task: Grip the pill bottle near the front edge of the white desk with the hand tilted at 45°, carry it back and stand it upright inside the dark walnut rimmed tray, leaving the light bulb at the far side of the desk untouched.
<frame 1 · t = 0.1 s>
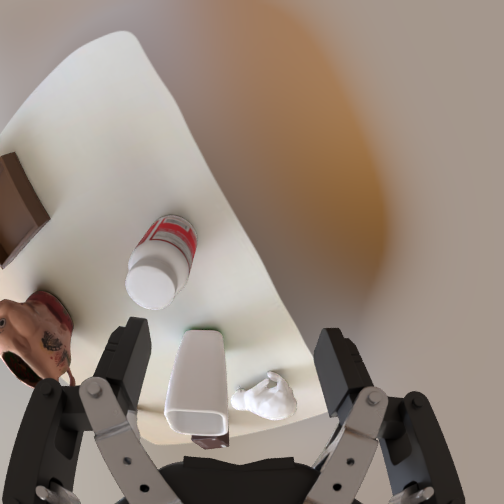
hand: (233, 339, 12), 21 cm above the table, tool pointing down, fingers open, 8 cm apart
tray: (10, 210, 28), on the table
cup: (204, 339, 40), on the table
box: (211, 415, 51), on the table
lightbulb: (133, 405, 49), on the table
white lumpy curved piece: (259, 382, 46), on the table
pink face mug: (58, 318, 37), on the table
pill bottle: (173, 237, 32), on the table
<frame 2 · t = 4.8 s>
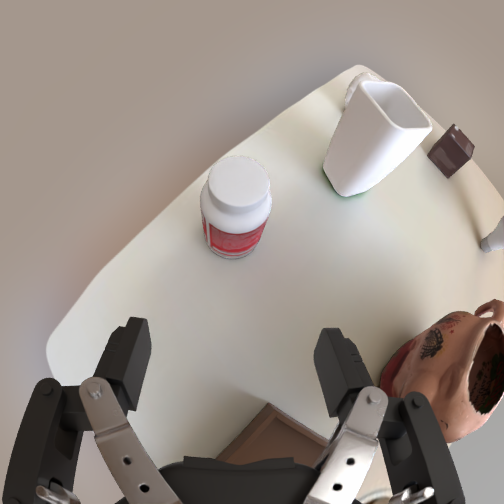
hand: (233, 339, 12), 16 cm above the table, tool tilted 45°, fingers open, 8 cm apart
tray: (282, 471, 22), on the table
cup: (344, 179, 35), on the table
box: (440, 161, 40), on the table
lightbulb: (481, 247, 35), on the table
white lumpy curved piece: (368, 124, 40), on the table
pink face mug: (413, 366, 28), on the table
pill bottle: (231, 234, 30), on the table
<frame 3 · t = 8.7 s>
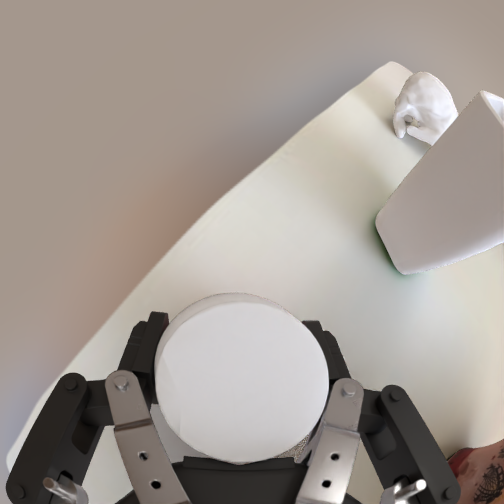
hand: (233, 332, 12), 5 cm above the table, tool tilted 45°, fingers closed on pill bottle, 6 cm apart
cup: (402, 240, 21), on the table
white lumpy curved piece: (421, 145, 26), on the table
pink face mug: (453, 472, 14), on the table
pill bottle: (229, 359, 17), on the table, touching gripper
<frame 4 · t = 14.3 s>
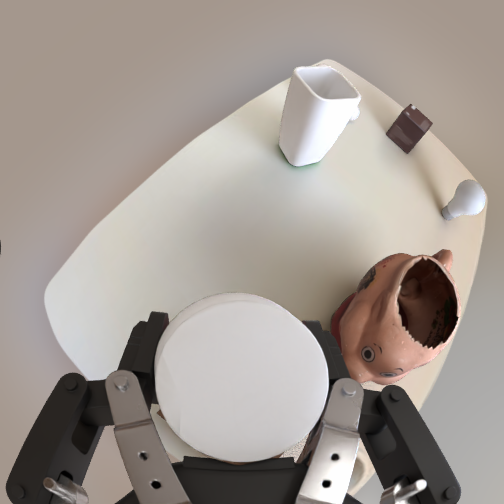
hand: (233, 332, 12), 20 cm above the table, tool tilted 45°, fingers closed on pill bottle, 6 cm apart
cup: (298, 153, 41), on the table
box: (400, 139, 46), on the table
lightbulb: (443, 216, 41), on the table
pink face mug: (367, 317, 34), on the table
pill bottle: (229, 358, 17), point 15 cm above the table, touching gripper
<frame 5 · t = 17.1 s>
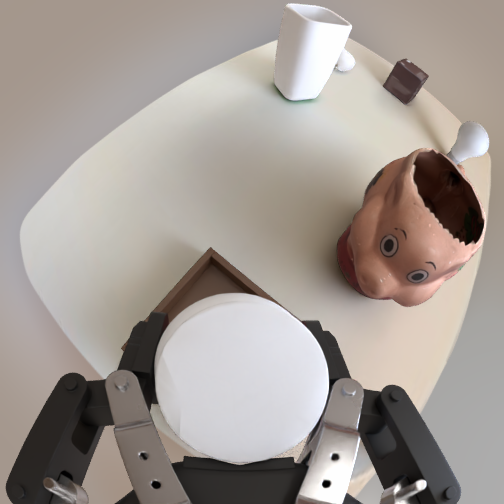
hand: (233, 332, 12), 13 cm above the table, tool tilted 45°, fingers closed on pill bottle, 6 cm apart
tray: (226, 351, 24), on the table
cup: (294, 92, 37), on the table
box: (398, 93, 42), on the table
lightbulb: (447, 163, 37), on the table
white lumpy curved piece: (323, 61, 42), on the table
pink face mug: (378, 248, 30), on the table
pill bottle: (229, 359, 17), point 8 cm above the table, touching gripper
when the fingers open (6 cm above the table, at t = 19.7 s): pill bottle stays where it is, resting on tray.
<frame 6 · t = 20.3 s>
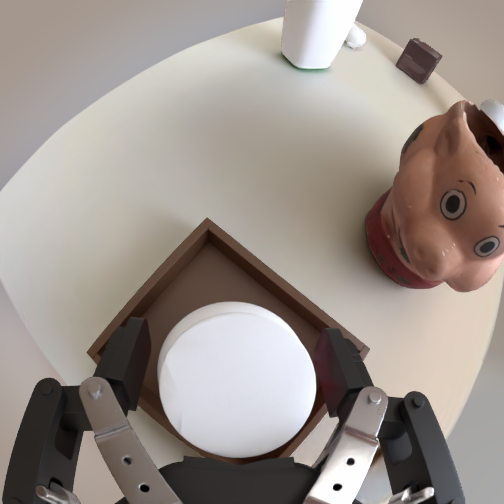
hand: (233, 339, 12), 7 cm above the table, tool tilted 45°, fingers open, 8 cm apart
tray: (228, 358, 18), on the table
cup: (303, 62, 31), on the table
box: (411, 73, 36), on the table
lightbulb: (467, 145, 31), on the table
white lumpy curved piece: (332, 38, 36), on the table
pink face mug: (409, 229, 24), on the table
pill bottle: (228, 361, 18), resting on tray
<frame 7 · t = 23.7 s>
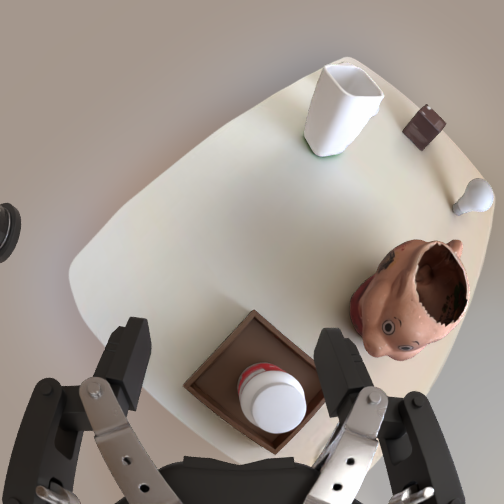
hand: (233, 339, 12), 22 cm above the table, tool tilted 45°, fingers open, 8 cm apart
tray: (261, 383, 31), on the table
cup: (321, 144, 42), on the table
box: (415, 137, 47), on the table
lightbulb: (453, 211, 42), on the table
pink face mug: (383, 300, 36), on the table
pill bottle: (261, 385, 30), resting on tray
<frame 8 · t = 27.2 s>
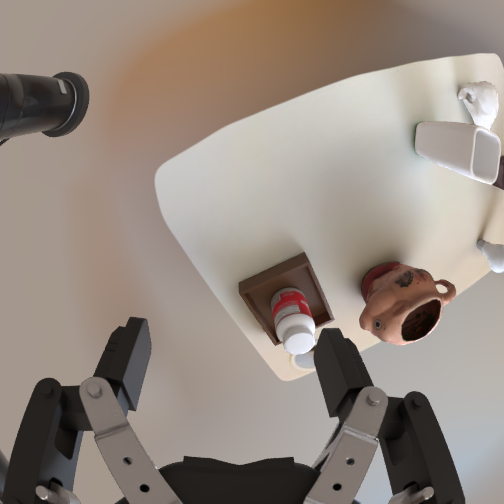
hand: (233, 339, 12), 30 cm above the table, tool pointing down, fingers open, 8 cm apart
tray: (287, 297, 48), on the table
cup: (425, 140, 36), on the table
box: (497, 169, 38), on the table
lightbulb: (477, 242, 46), on the table
white lumpy curved piece: (468, 109, 33), on the table
pink face mug: (389, 277, 48), on the table
pill bottle: (287, 299, 48), resting on tray
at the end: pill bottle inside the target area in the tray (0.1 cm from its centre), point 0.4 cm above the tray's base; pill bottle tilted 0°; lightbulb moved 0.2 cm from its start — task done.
